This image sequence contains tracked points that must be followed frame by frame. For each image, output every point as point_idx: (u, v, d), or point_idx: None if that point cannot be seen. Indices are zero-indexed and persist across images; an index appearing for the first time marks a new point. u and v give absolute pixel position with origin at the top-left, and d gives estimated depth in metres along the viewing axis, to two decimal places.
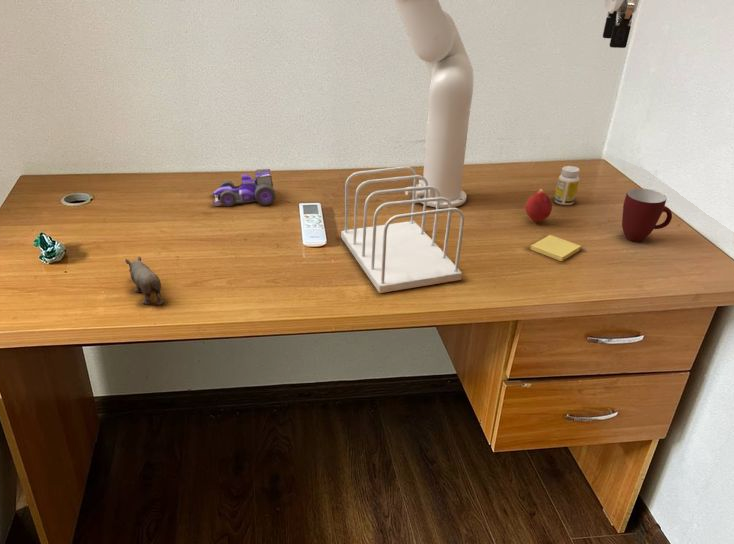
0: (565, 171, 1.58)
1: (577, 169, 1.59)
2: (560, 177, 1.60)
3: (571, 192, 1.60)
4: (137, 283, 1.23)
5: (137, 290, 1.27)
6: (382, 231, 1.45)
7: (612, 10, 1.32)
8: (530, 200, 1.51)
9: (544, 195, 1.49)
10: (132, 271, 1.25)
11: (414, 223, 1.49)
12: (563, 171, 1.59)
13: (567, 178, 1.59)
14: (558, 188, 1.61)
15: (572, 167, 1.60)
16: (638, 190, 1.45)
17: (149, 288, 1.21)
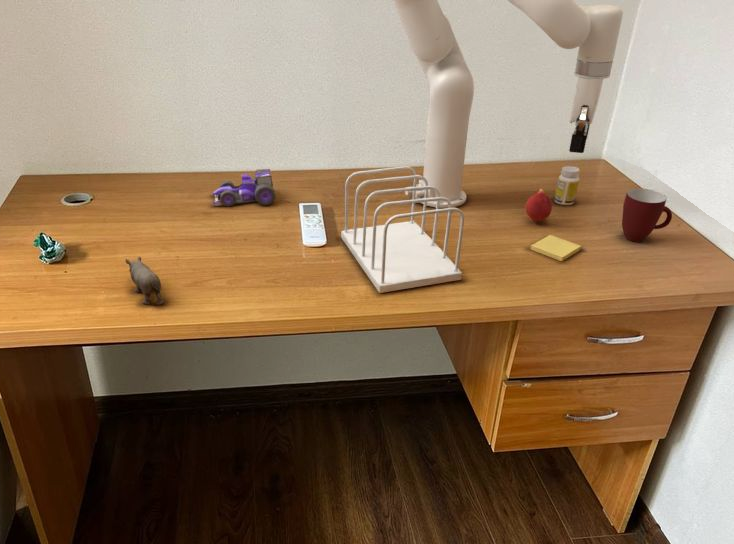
0: (565, 171, 1.58)
1: (577, 169, 1.59)
2: (560, 177, 1.60)
3: (571, 192, 1.60)
4: (137, 283, 1.23)
5: (137, 290, 1.27)
6: (382, 231, 1.45)
7: (570, 121, 1.49)
8: (530, 200, 1.51)
9: (544, 195, 1.49)
10: (132, 271, 1.25)
11: (414, 223, 1.49)
12: (563, 171, 1.59)
13: (567, 178, 1.59)
14: (558, 188, 1.61)
15: (572, 167, 1.60)
16: (638, 190, 1.45)
17: (149, 288, 1.21)
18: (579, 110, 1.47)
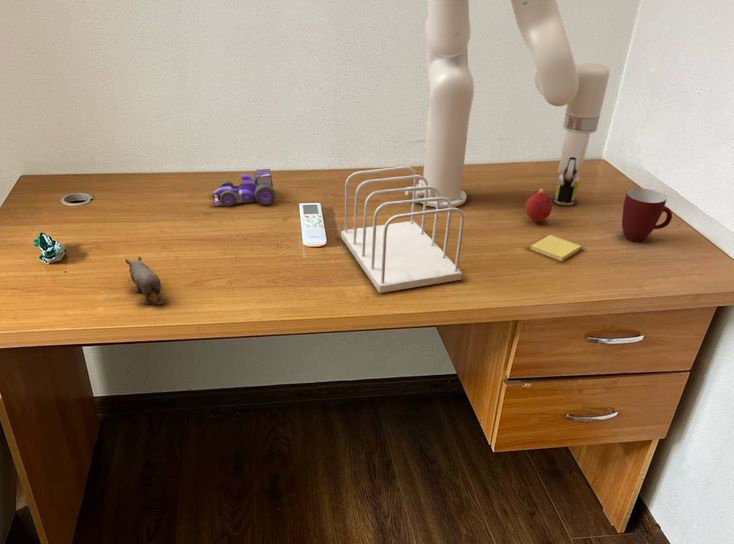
0: None
1: None
2: (560, 177, 1.60)
3: None
4: (137, 283, 1.23)
5: (137, 290, 1.27)
6: (382, 231, 1.45)
7: (559, 171, 1.56)
8: (530, 200, 1.51)
9: (544, 195, 1.49)
10: (132, 271, 1.25)
11: (414, 223, 1.49)
12: None
13: None
14: (558, 188, 1.61)
15: None
16: (638, 190, 1.45)
17: (149, 288, 1.21)
18: (567, 162, 1.54)
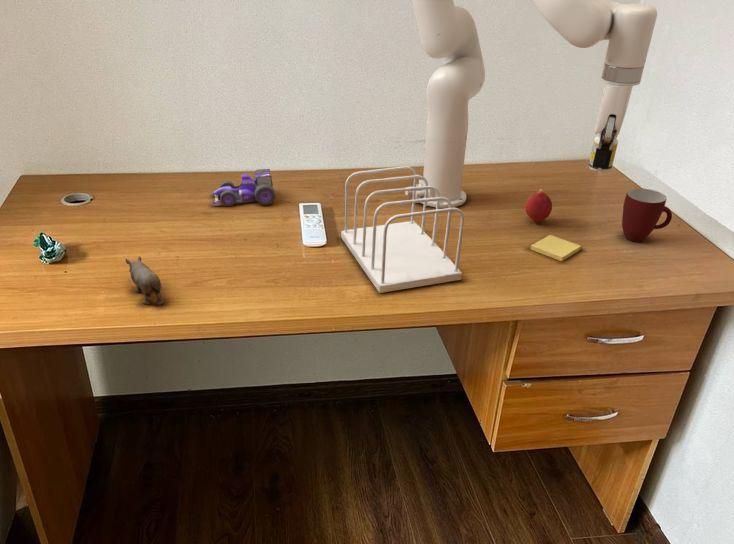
0: None
1: None
2: (596, 139, 1.40)
3: None
4: (137, 283, 1.23)
5: (137, 290, 1.27)
6: (382, 231, 1.45)
7: (595, 131, 1.36)
8: (530, 200, 1.51)
9: (544, 195, 1.49)
10: (132, 271, 1.25)
11: (414, 223, 1.49)
12: None
13: None
14: (594, 152, 1.41)
15: None
16: (638, 190, 1.45)
17: (149, 288, 1.21)
18: (606, 120, 1.33)
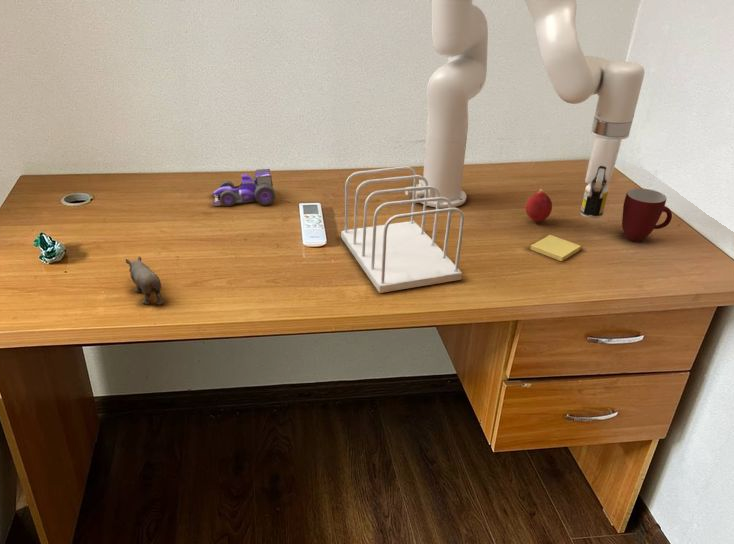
0: None
1: None
2: (587, 188, 1.45)
3: None
4: (137, 283, 1.23)
5: (137, 290, 1.27)
6: (382, 231, 1.45)
7: (586, 181, 1.41)
8: (530, 200, 1.51)
9: (544, 195, 1.49)
10: (132, 271, 1.25)
11: (414, 223, 1.49)
12: None
13: None
14: (585, 200, 1.46)
15: None
16: (638, 190, 1.45)
17: (149, 288, 1.21)
18: (596, 171, 1.38)
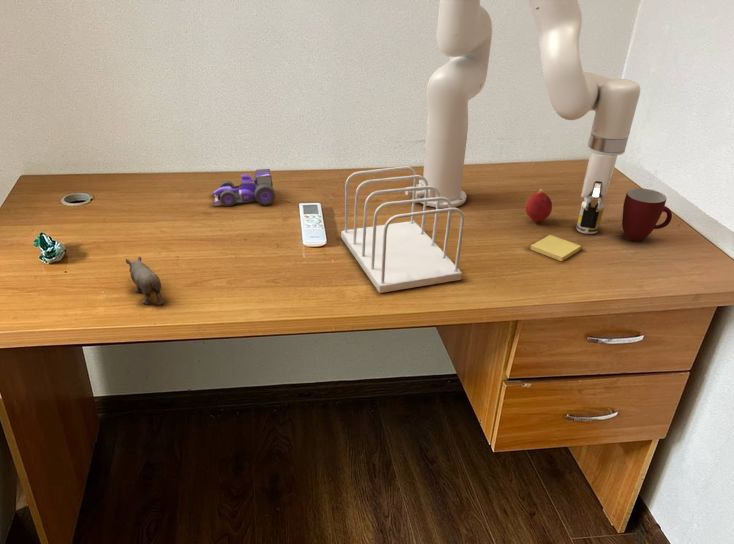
0: None
1: None
2: (583, 204, 1.47)
3: None
4: (137, 283, 1.23)
5: (137, 290, 1.27)
6: (382, 231, 1.45)
7: (582, 196, 1.43)
8: (530, 200, 1.51)
9: (544, 195, 1.49)
10: (132, 271, 1.25)
11: (414, 223, 1.49)
12: None
13: None
14: (581, 216, 1.48)
15: None
16: (638, 190, 1.45)
17: (149, 288, 1.21)
18: (592, 186, 1.40)
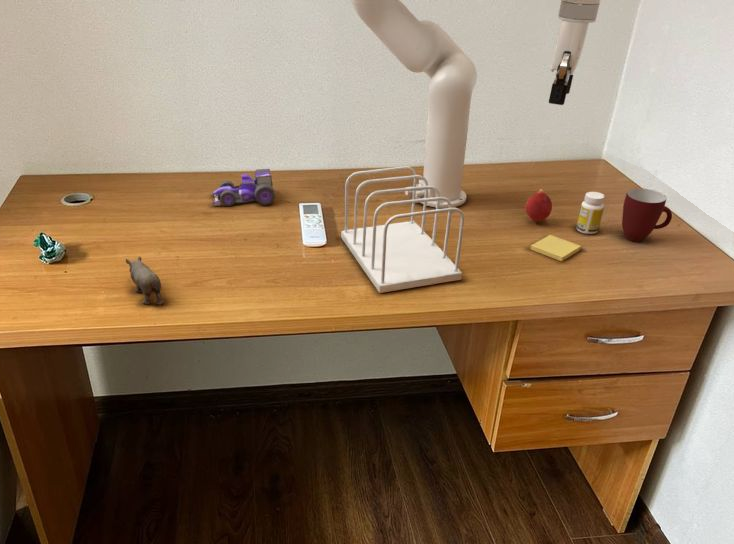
0: (589, 198, 1.45)
1: (602, 195, 1.46)
2: (583, 204, 1.47)
3: (595, 220, 1.47)
4: (137, 283, 1.23)
5: (137, 290, 1.27)
6: (382, 231, 1.45)
7: (551, 69, 1.39)
8: (530, 200, 1.51)
9: (544, 195, 1.49)
10: (132, 271, 1.25)
11: (414, 223, 1.49)
12: (587, 198, 1.46)
13: (591, 205, 1.46)
14: (581, 216, 1.48)
15: (596, 193, 1.47)
16: (638, 190, 1.45)
17: (149, 288, 1.21)
18: (561, 57, 1.36)
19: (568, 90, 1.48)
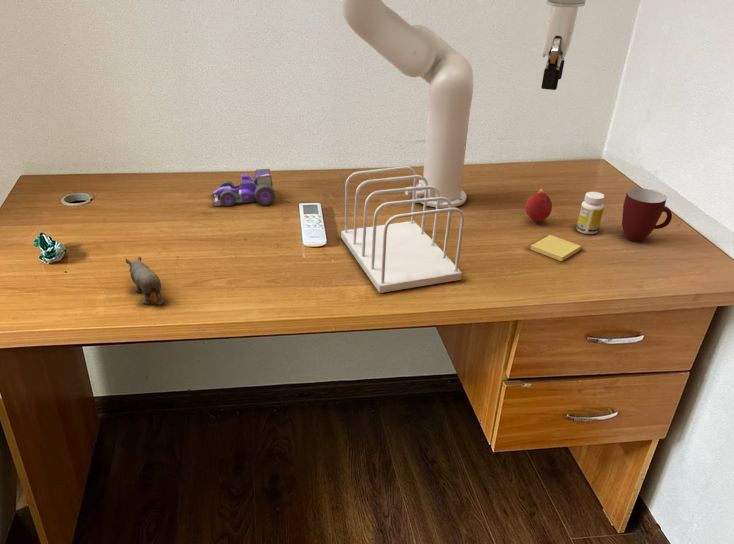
0: (589, 198, 1.45)
1: (602, 195, 1.46)
2: (583, 204, 1.47)
3: (595, 220, 1.47)
4: (137, 283, 1.23)
5: (137, 290, 1.27)
6: (382, 231, 1.45)
7: (542, 54, 1.39)
8: (530, 200, 1.51)
9: (544, 195, 1.49)
10: (132, 271, 1.25)
11: (414, 223, 1.49)
12: (587, 198, 1.46)
13: (591, 205, 1.46)
14: (581, 216, 1.48)
15: (596, 193, 1.47)
16: (638, 190, 1.45)
17: (149, 288, 1.21)
18: (552, 42, 1.37)
19: (560, 75, 1.49)
